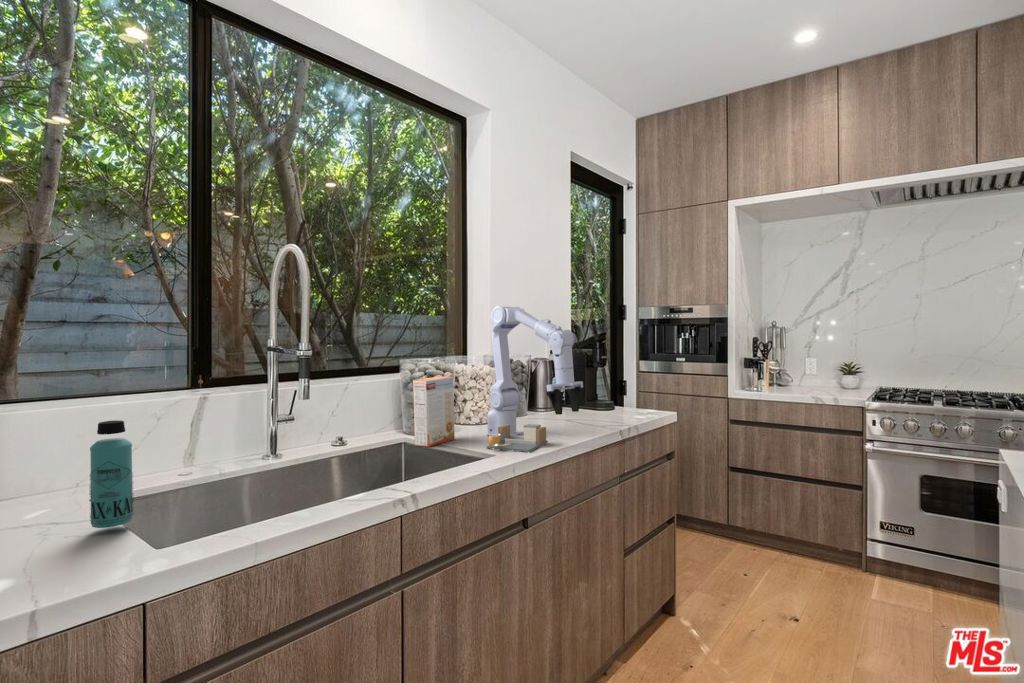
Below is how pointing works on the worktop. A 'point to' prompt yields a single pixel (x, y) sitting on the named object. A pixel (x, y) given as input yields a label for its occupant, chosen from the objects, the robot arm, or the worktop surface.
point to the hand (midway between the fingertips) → (567, 413)
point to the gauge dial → (502, 441)
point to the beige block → (530, 431)
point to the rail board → (521, 440)
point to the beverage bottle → (111, 478)
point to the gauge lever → (494, 439)
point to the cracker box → (433, 410)
